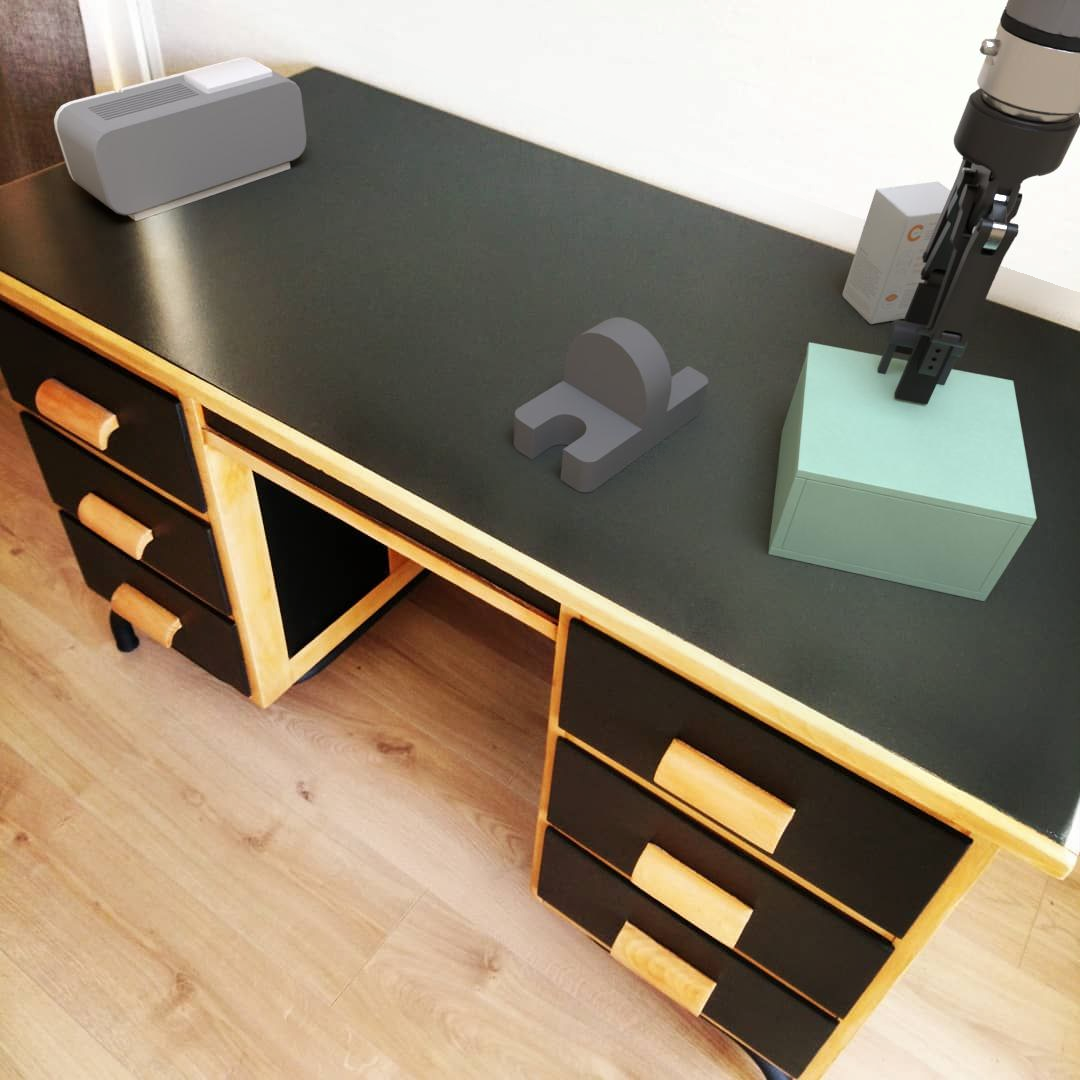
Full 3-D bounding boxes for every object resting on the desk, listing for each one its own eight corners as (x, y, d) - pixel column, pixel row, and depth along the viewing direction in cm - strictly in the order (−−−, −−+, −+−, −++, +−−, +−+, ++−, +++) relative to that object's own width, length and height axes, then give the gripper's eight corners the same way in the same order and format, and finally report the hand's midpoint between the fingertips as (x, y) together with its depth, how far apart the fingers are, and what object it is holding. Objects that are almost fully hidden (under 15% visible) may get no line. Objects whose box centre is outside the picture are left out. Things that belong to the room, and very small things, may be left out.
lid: (806, 349, 85) (824, 292, 80) (1009, 387, 82) (1039, 331, 78) (794, 476, 73) (815, 418, 68) (1032, 526, 70) (1068, 468, 66)
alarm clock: (269, 139, 127) (255, 46, 118) (310, 164, 123) (299, 68, 114) (77, 200, 113) (44, 99, 104) (116, 230, 109) (86, 127, 100)
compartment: (781, 431, 90) (806, 355, 84) (970, 469, 88) (1010, 394, 82) (767, 554, 79) (794, 477, 73) (984, 601, 77) (1032, 526, 70)
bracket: (508, 443, 87) (512, 346, 79) (631, 365, 96) (645, 272, 88) (585, 496, 83) (597, 399, 75) (706, 409, 92) (728, 314, 84)
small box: (898, 286, 110) (939, 179, 101) (930, 316, 106) (975, 207, 97) (839, 295, 108) (874, 187, 99) (869, 325, 104) (909, 216, 95)
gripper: (962, 46, 72) (865, 308, 88) (984, 146, 58) (865, 433, 75) (1064, 62, 71) (946, 324, 87) (1110, 167, 57) (961, 453, 74)
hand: (909, 374), depth 81 cm, fingers open, 6 cm apart
